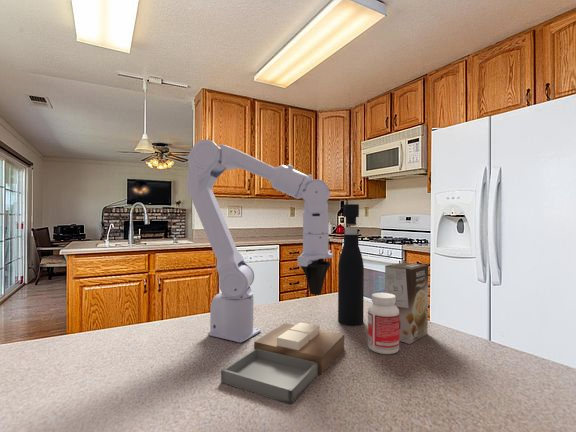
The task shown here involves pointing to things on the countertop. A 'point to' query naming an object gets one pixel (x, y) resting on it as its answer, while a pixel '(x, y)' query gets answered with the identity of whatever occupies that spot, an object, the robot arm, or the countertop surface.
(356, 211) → the black water bottle
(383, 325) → the pill bottle
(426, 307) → the coffee box
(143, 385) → the countertop surface
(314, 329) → the tile
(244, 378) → the tray
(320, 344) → the board
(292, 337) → the tile
